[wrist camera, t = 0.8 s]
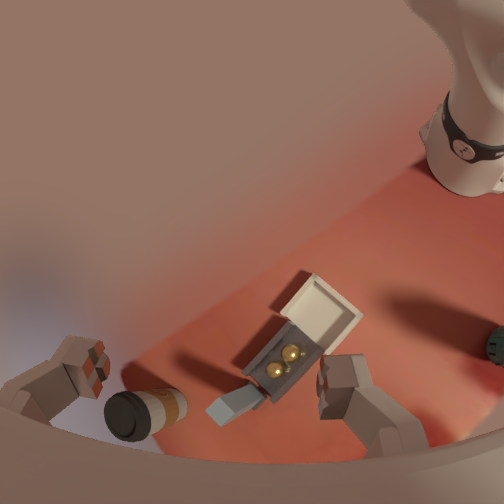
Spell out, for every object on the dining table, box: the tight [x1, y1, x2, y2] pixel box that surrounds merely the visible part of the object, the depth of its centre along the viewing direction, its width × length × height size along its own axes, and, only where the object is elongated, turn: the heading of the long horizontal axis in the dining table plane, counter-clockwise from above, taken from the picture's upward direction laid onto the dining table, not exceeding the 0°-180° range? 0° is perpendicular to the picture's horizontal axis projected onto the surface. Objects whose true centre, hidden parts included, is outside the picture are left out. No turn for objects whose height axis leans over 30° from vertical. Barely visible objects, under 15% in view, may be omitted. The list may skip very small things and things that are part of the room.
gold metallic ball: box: [281, 344, 300, 363], centre depth 47 cm, size 3×3×3 cm
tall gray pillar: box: [205, 381, 268, 427], centre depth 44 cm, size 3×4×13 cm
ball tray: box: [280, 273, 364, 355], centre depth 48 cm, size 8×10×2 cm
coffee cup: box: [104, 388, 188, 442], centre depth 47 cm, size 8×8×15 cm
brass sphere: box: [265, 360, 285, 379], centre depth 47 cm, size 3×3×3 cm
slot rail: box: [242, 321, 325, 404], centre depth 48 cm, size 11×7×3 cm, turn 138°
